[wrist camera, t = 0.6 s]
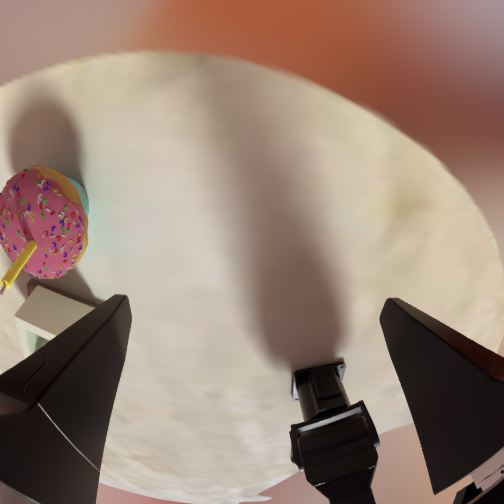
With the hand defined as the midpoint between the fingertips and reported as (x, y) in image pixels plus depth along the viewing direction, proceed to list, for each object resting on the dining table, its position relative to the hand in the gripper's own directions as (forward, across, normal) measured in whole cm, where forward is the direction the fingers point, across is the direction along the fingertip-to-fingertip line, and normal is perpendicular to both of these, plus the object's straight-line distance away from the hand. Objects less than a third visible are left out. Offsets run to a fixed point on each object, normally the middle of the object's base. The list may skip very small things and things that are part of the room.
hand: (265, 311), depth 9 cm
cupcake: (+14, +15, +1) cm, 20 cm away
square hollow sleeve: (+13, +18, +13) cm, 25 cm away
